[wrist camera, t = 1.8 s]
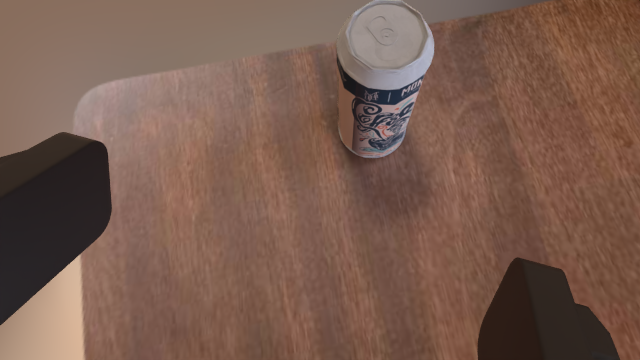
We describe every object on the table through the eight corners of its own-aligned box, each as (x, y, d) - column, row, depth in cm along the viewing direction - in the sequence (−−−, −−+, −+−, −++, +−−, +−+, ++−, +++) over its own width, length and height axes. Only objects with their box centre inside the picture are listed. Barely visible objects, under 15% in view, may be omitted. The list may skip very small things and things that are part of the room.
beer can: (361, 173, 33) (373, 98, 21) (325, 120, 34) (317, 22, 23) (418, 137, 33) (459, 46, 22) (380, 86, 35) (400, -26, 23)
